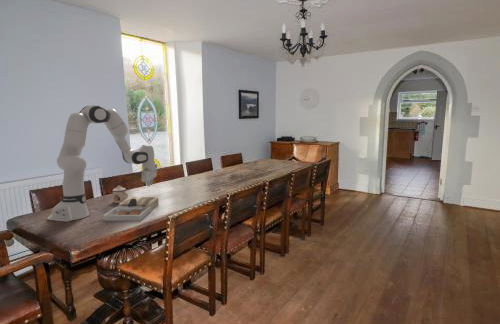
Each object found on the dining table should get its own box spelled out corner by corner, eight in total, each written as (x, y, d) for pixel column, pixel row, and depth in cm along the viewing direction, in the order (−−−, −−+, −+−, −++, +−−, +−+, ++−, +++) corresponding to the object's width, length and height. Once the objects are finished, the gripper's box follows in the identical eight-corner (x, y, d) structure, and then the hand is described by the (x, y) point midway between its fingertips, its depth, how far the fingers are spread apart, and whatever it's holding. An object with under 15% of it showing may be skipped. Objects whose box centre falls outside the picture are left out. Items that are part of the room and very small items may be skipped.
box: (103, 220, 174) (103, 215, 174) (117, 211, 191) (117, 206, 190) (140, 221, 173) (139, 215, 173) (150, 212, 190) (150, 206, 189)
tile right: (133, 210, 185) (133, 213, 186) (129, 213, 180) (129, 216, 181) (141, 210, 185) (141, 213, 185) (137, 213, 180) (137, 216, 180)
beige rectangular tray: (119, 211, 191) (118, 204, 190) (130, 203, 208) (130, 197, 207) (149, 212, 190) (148, 204, 189) (158, 204, 207) (158, 197, 206)
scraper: (115, 208, 181) (121, 198, 190) (116, 212, 183) (122, 202, 191) (140, 208, 181) (146, 198, 190) (141, 212, 183) (146, 202, 191)
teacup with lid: (110, 202, 211) (109, 186, 209) (120, 199, 220) (119, 183, 218) (122, 204, 207) (121, 188, 205) (132, 200, 215) (131, 185, 213)
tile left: (121, 209, 187) (121, 212, 187) (117, 212, 182) (117, 215, 182) (129, 209, 187) (129, 212, 187) (125, 212, 182) (125, 215, 182)
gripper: (147, 169, 204) (148, 189, 206) (157, 164, 224) (158, 182, 226) (138, 169, 204) (139, 188, 206) (149, 164, 224) (150, 182, 227)
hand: (149, 185), depth 217 cm, fingers open, 3 cm apart
